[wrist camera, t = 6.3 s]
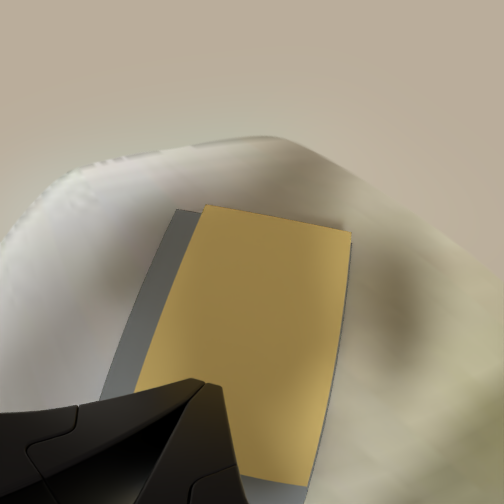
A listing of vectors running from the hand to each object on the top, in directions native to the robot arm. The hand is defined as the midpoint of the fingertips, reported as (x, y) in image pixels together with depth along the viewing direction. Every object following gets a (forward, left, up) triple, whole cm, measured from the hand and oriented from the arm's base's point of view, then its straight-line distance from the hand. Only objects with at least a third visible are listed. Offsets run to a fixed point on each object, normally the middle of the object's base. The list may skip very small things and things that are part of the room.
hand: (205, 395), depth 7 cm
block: (-3, 0, -6) cm, 7 cm away
